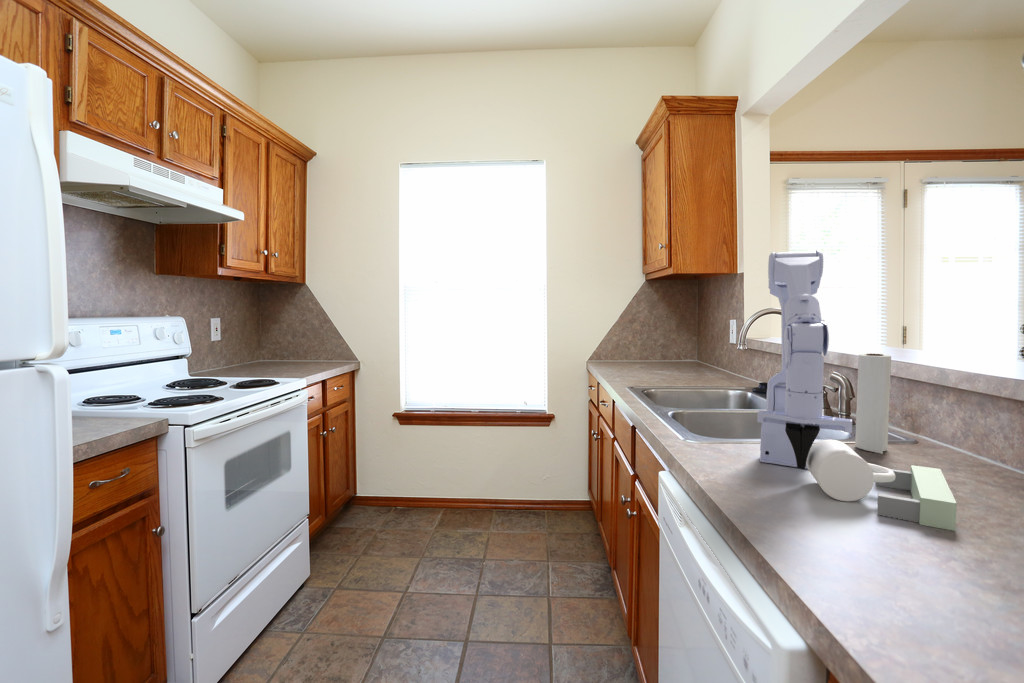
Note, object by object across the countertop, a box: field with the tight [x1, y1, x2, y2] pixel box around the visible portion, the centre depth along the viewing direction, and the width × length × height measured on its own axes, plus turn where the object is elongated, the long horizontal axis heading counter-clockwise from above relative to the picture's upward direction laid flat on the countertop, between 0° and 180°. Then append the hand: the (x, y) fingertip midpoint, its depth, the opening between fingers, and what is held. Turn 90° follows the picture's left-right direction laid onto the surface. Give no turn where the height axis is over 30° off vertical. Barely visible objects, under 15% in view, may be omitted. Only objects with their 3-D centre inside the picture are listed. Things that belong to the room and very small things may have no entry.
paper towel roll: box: [854, 353, 892, 455], centre depth 115 cm, size 7×6×21 cm
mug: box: [806, 439, 896, 502], centre depth 88 cm, size 12×10×8 cm
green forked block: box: [874, 464, 958, 532], centre depth 83 cm, size 9×19×4 cm, turn 146°
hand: (801, 466), depth 92 cm, fingers closed
